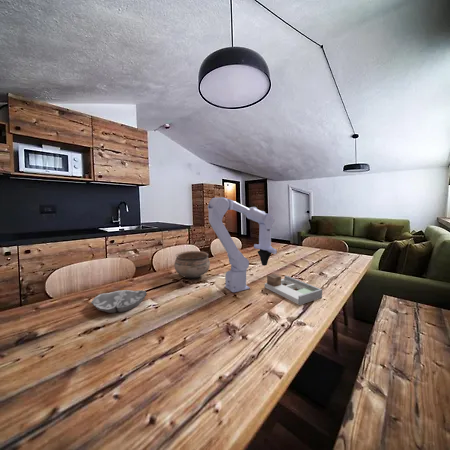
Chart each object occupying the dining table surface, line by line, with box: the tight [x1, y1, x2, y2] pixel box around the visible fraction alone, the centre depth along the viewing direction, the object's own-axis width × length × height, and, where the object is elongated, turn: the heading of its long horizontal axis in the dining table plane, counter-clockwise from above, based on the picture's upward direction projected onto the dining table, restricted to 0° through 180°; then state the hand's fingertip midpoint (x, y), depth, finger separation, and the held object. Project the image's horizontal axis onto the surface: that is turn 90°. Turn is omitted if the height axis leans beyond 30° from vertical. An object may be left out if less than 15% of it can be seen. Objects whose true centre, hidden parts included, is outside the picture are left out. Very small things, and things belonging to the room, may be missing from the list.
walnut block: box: [266, 273, 282, 287], centre depth 102 cm, size 4×4×4 cm
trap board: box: [264, 275, 323, 306], centre depth 98 cm, size 14×21×4 cm, turn 31°
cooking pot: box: [173, 250, 211, 280], centre depth 117 cm, size 25×19×12 cm
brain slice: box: [91, 289, 147, 314], centre depth 85 cm, size 20×17×3 cm
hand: (264, 265), depth 108 cm, fingers closed
